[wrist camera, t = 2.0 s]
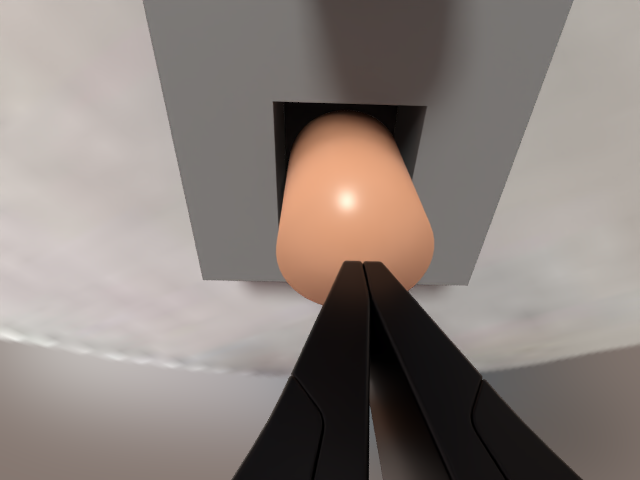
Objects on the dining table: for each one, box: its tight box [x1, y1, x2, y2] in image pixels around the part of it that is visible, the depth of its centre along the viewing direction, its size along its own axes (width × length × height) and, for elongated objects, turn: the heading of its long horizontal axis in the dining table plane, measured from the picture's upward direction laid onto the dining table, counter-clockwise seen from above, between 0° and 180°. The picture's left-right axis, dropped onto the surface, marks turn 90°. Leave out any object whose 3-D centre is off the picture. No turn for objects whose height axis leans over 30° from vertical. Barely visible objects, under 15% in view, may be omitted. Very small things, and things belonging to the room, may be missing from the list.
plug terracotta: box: [276, 110, 434, 305], centre depth 11 cm, size 4×4×5 cm
